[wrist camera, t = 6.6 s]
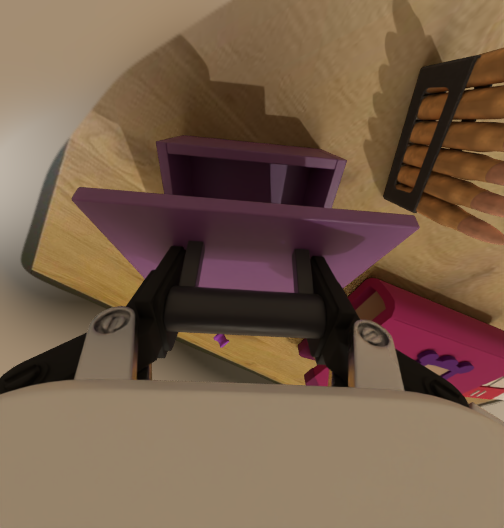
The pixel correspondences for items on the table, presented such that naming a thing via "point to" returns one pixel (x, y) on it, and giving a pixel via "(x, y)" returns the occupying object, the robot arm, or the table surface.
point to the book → (426, 336)
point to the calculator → (488, 390)
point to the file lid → (243, 255)
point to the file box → (249, 171)
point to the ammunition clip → (453, 145)
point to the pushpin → (221, 339)
